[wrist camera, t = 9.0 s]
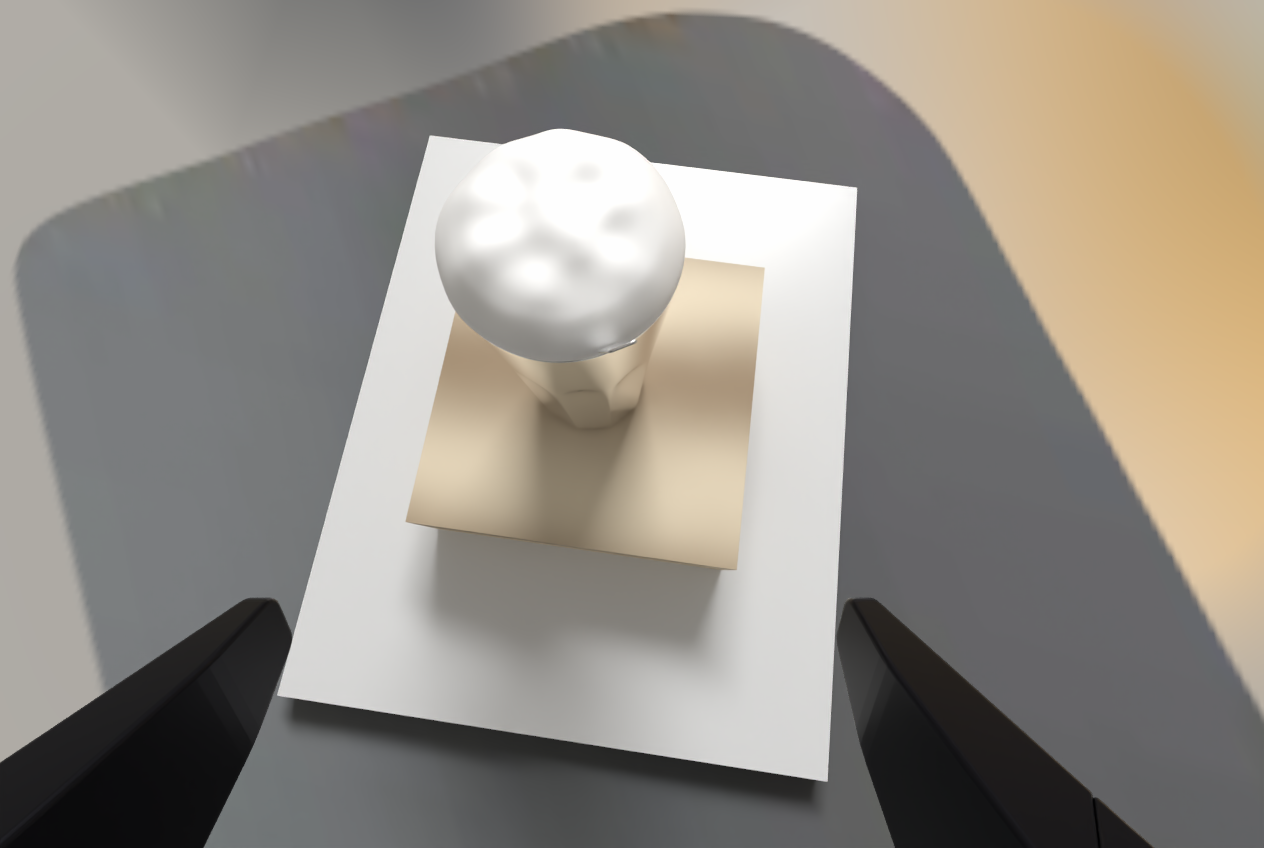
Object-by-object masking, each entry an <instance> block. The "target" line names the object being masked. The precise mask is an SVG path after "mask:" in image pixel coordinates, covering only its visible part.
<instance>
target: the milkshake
mask: <svg viewBox="0 0 1264 848" xmlns="http://www.w3.org/2000/svg"><path fill="white" fill-rule="evenodd" d="M685 248H686V241H685V230H684V225H683V222H682V218H681V215H680V212H679V209H678V207H677V204H676V202H675V199H674V197H673V195H672V193H671V191H670V189H669V187H668V185H667V183H666V182H665V180H664V179H663V177H662V176H661V175H660V173H659V172H658V171H657V169H656V168H655V167H654V166H653V165H652V164H651V163H650V162H649V161H648V160H647V159H646V158H645V157H644V156H642V155H641V154H640V153H639V152H637V151H636V150H635V149H633V148H632V147H630V146H628V145H627V144H625V143H623V142H620V141H617V140H614V139H610V138H606V137H602V136H597V135H592V134H588V133H583V132H579V131H574V130H568V129H553V130H548V131H545V132H542V133H539V134H536V135H532V136H529V137H526V138H522V139H518V140H515V141H511V142H508V143H506V144H504V145H502V146H500V147H498V148H496V149H494V150H493V151H492V152H490V153H489V154H488V155H486V156H485V157H484V158H483V159H482V160H481V161H480V162H479V163H478V164H477V165H476V166H475V167H474V168H473V169H472V170H471V171H470V172H469V173H468V174H467V176H466V177H465V178H464V179H463V180H462V181H461V182H460V183H459V185H458V186H457V187H456V188H455V189H454V190H453V192H452V193H451V194H450V196H449V197H448V199H447V200H446V202H445V203H444V205H443V207H442V210H441V212H440V214H439V217H438V221H437V225H436V231H435V256H436V262H437V267H438V271H439V274H440V278H441V281H442V284H443V287H444V290H445V292H446V295H447V297H448V299H449V301H450V303H451V305H452V306H453V308H454V310H455V311H456V313H457V314H458V315H459V316H460V318H461V319H462V320H463V321H464V322H465V323H466V324H467V325H468V326H469V327H470V328H471V329H473V330H474V331H475V332H476V333H477V334H478V335H479V336H480V337H481V338H482V339H483V340H484V341H485V342H486V343H487V344H488V345H489V346H490V347H491V348H492V349H493V350H494V351H495V352H497V353H498V354H499V355H500V356H501V357H502V358H503V359H504V360H505V361H506V362H507V363H508V364H509V365H510V367H511V368H512V369H513V370H514V371H515V372H516V374H517V375H518V376H519V377H520V378H521V379H522V380H523V382H524V383H525V384H526V385H527V386H528V387H529V388H530V390H531V391H532V392H533V393H534V394H535V395H536V396H537V397H538V399H539V400H540V401H541V402H542V403H543V404H544V405H545V407H546V408H547V409H548V410H549V411H550V412H551V413H552V414H554V415H556V416H557V417H559V418H561V419H562V420H564V421H566V422H567V423H569V424H571V425H572V426H574V427H575V428H577V429H592V428H607V427H612V426H613V425H614V424H616V423H617V422H618V421H619V420H621V419H622V418H623V417H624V416H625V415H627V414H628V413H629V412H630V411H632V410H633V409H634V408H635V407H636V406H637V403H638V399H639V396H640V392H641V388H642V385H643V381H644V377H645V374H646V370H647V367H648V363H649V360H650V357H651V354H652V351H653V349H654V346H655V343H656V341H657V338H658V336H659V333H660V331H661V328H662V326H663V323H664V320H665V318H666V315H667V312H668V310H669V307H670V304H671V302H672V299H673V296H674V294H675V291H676V288H677V286H678V283H679V280H680V277H681V273H682V270H683V265H684V259H685Z"/></svg>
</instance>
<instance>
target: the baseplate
mask: <svg viewBox="0 0 1264 848" xmlns="http://www.w3.org/2000/svg"><path fill="white" fill-rule="evenodd" d="M502 145H503V144H495V143H486V142H478V141H470V140H462V139H454V138H446V137H437V136H430V138H429V141H428V145H427V149H426V152H425V156H424V160H423V163H422V167H421V171H420V174H419V178H418V182H417V185H416V189H415V193H414V196H413V200H412V204H411V207H410V211H409V215H408V218H407V222H406V226H405V229H404V233H403V237H402V240H401V244H400V248H399V251H398V255H397V259H396V262H395V266H394V270H393V273H392V277H391V281H390V284H389V288H388V292H387V295H386V299H385V303H384V306H383V310H382V314H381V317H380V321H379V325H378V328H377V332H376V336H375V339H374V343H373V347H372V350H371V354H370V358H369V361H368V365H367V369H366V372H365V376H364V380H363V383H362V387H361V391H360V394H359V398H358V402H357V405H356V409H355V413H354V416H353V420H352V424H351V427H350V431H349V435H348V438H347V442H346V446H345V449H344V453H343V457H342V460H341V464H340V468H339V471H338V475H337V479H336V482H335V486H334V490H333V493H332V497H331V501H330V504H329V508H328V512H327V515H326V519H325V523H324V526H323V530H322V533H321V537H320V541H319V544H318V548H317V552H316V555H315V559H314V563H313V566H312V570H311V574H310V577H309V581H308V585H307V588H306V592H305V596H304V599H303V603H302V607H301V610H300V614H299V618H298V621H297V625H296V629H295V632H294V636H293V640H292V644H291V648H290V651H289V654H288V658H287V662H286V665H285V669H284V673H283V676H282V680H281V684H280V687H279V691H278V695H277V696H283V697H289V698H296V699H302V700H309V701H315V702H321V703H328V704H334V705H341V706H347V707H353V708H360V709H366V710H373V711H379V712H385V713H392V714H398V715H404V716H411V717H417V718H424V719H430V720H436V721H443V722H449V723H456V724H462V725H468V726H475V727H481V728H488V729H494V730H500V731H507V732H513V733H519V734H526V735H532V736H539V737H545V738H551V739H558V740H564V741H571V742H577V743H583V744H590V745H596V746H603V747H609V748H615V749H622V750H628V751H634V752H641V753H647V754H654V755H660V756H666V757H673V758H679V759H686V760H692V761H698V762H705V763H711V764H718V765H724V766H730V767H737V768H743V769H749V770H756V771H762V772H769V773H775V774H781V775H788V776H794V777H801V778H807V779H813V780H820V781H826V782H827V780H828V760H829V740H830V720H831V700H832V680H833V660H834V640H835V620H836V600H837V580H838V560H839V540H840V520H841V499H842V479H843V459H844V439H845V419H846V399H847V379H848V359H849V339H850V319H851V299H852V279H853V259H854V239H855V219H856V199H857V188H854V187H846V186H838V185H829V184H821V183H813V182H805V181H797V180H789V179H780V178H772V177H764V176H756V175H748V174H740V173H731V172H723V171H715V170H707V169H699V168H691V167H682V166H674V165H666V164H658V163H651V164H652V165H653V166H654V167H655V168H656V169H657V171H658V172H659V173H660V175H661V176H662V177H663V179H664V180H665V182H666V183H667V185H668V187H669V189H670V191H671V193H672V195H673V197H674V199H675V202H676V204H677V207H678V209H679V212H680V215H681V218H682V222H683V225H684V230H685V241H686V248H685V258H693V259H701V260H708V261H716V262H724V263H732V264H740V265H748V266H755V267H763V268H765V271H764V282H763V293H762V304H761V314H760V325H759V336H758V347H757V358H756V368H755V379H754V390H753V401H752V412H751V422H750V433H749V444H748V455H747V465H746V476H745V487H744V498H743V509H742V519H741V530H740V541H739V552H738V563H737V570H716V569H709V568H702V567H696V566H689V565H682V564H675V563H668V562H661V561H654V560H647V559H641V558H634V557H627V556H620V555H613V554H606V553H599V552H592V551H586V550H579V549H572V548H565V547H558V546H551V545H544V544H537V543H530V542H524V541H517V540H510V539H503V538H496V537H489V536H482V535H475V534H469V533H462V532H455V531H448V530H441V529H435V528H431V527H426V526H422V525H417V524H413V523H408V522H405V521H406V517H407V512H408V508H409V504H410V500H411V496H412V491H413V487H414V483H415V479H416V475H417V470H418V466H419V462H420V458H421V454H422V449H423V445H424V441H425V437H426V433H427V428H428V424H429V420H430V416H431V412H432V407H433V403H434V399H435V395H436V391H437V386H438V382H439V378H440V374H441V370H442V365H443V361H444V357H445V353H446V349H447V344H448V340H449V336H450V332H451V328H452V323H453V319H454V315H455V310H454V308H453V306H452V305H451V303H450V301H449V299H448V297H447V295H446V292H445V290H444V287H443V284H442V281H441V278H440V274H439V271H438V267H437V262H436V256H435V231H436V225H437V221H438V217H439V214H440V212H441V210H442V207H443V205H444V203H445V202H446V200H447V199H448V197H449V196H450V194H451V193H452V192H453V190H454V189H455V188H456V187H457V186H458V185H459V183H460V182H461V181H462V180H463V179H464V178H465V177H466V176H467V174H468V173H469V172H470V171H471V170H472V169H473V168H474V167H475V166H476V165H477V164H478V163H479V162H480V161H481V160H482V159H483V158H484V157H485V156H486V155H488V154H489V153H490V152H492V151H493V150H494V149H496V148H498V147H500V146H502Z"/></svg>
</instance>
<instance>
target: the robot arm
mask: <svg viewBox="0 0 1264 848" xmlns="http://www.w3.org/2000/svg"><path fill="white" fill-rule="evenodd" d="M291 644H292V633H291V630H290V627H289V625H288V623H287V620H286V618H285V616H284V614H283V611H282V609H281V607H280V604H279V603H278V601H277V600H275V599H274V598H248V599H245V600H243V601H241V602H239V603H238V604H236V605H235V606H233V607H232V608H230V609H229V610H227V611H226V612H224V613H223V614H222V615H220V616H219V617H217V618H216V619H214V620H213V621H211V622H210V623H208V624H207V625H205V626H204V627H202V628H201V629H199V630H198V631H196V632H195V633H193V634H192V635H190V636H189V637H187V638H186V639H184V640H183V641H181V642H180V643H178V644H177V645H175V646H174V647H172V648H171V649H169V650H168V651H166V652H165V653H163V654H162V655H160V656H159V657H157V658H156V659H154V660H153V661H151V662H150V663H148V664H147V665H145V666H144V667H142V668H141V669H139V670H138V671H136V672H135V673H133V674H132V675H130V676H129V677H127V678H126V679H124V680H123V681H121V682H120V683H118V684H117V685H115V686H114V687H112V688H111V689H109V690H108V691H106V692H105V693H103V694H102V695H100V696H99V697H97V698H96V699H94V700H93V701H91V702H90V703H89V704H87V705H86V706H84V707H83V708H81V709H80V710H78V711H77V712H75V713H74V714H72V715H71V716H69V717H68V718H66V719H65V720H63V721H62V722H60V723H59V724H57V725H56V726H54V727H53V728H51V729H50V730H48V731H47V732H45V733H44V734H42V735H41V736H39V737H38V738H36V739H35V740H33V741H32V742H30V743H29V744H27V745H26V746H24V747H23V748H21V749H20V750H18V751H17V752H15V753H14V754H12V755H11V756H10V757H8V758H6V759H5V760H3V761H2V762H0V848H204V846H205V844H206V841H207V839H208V837H209V835H210V833H211V831H212V829H213V827H214V825H215V823H216V821H217V819H218V817H219V815H220V813H221V811H222V809H223V807H224V805H225V803H226V801H227V799H228V797H229V795H230V793H231V791H232V789H233V787H234V785H235V782H236V780H237V778H238V776H239V774H240V772H241V770H242V768H243V766H244V764H245V762H246V760H247V758H248V756H249V754H250V751H251V749H252V747H253V745H254V743H255V740H256V738H257V735H258V733H259V730H260V728H261V725H262V723H263V720H264V717H265V715H266V712H267V709H268V707H269V704H270V701H271V699H272V696H273V694H274V691H275V688H276V686H277V683H278V680H279V678H280V675H281V672H282V670H283V667H284V664H285V662H286V659H287V656H288V654H289V651H290V648H291ZM837 648H838V652H839V657H840V661H841V665H842V670H843V674H844V678H845V683H846V687H847V691H848V696H849V700H850V704H851V709H852V713H853V718H854V722H855V726H856V730H857V734H858V738H859V742H860V746H861V749H862V752H863V755H864V759H865V762H866V765H867V768H868V770H869V773H870V776H871V779H872V782H873V785H874V788H875V791H876V794H877V797H878V800H879V803H880V805H881V808H882V811H883V814H884V817H885V820H886V823H887V826H888V829H889V832H890V835H891V838H892V840H893V843H894V846H895V848H1154V847H1153V846H1152V845H1151V844H1150V843H1149V842H1147V841H1146V840H1145V839H1144V838H1143V837H1142V836H1141V835H1139V834H1138V833H1137V832H1136V831H1135V830H1134V829H1132V828H1131V827H1130V826H1129V825H1128V824H1127V823H1126V822H1125V821H1123V820H1122V819H1121V818H1120V817H1119V816H1118V815H1117V814H1116V813H1114V812H1113V811H1112V810H1111V809H1110V808H1109V807H1108V806H1107V805H1106V804H1104V803H1103V802H1102V801H1101V800H1100V799H1099V798H1093V796H1092V793H1091V791H1090V790H1088V789H1087V788H1086V787H1085V786H1084V785H1083V784H1082V783H1081V782H1080V781H1078V780H1077V779H1076V778H1075V777H1074V776H1073V775H1072V774H1071V773H1069V772H1068V771H1067V770H1066V769H1065V768H1064V767H1063V766H1062V765H1061V764H1059V763H1058V762H1057V761H1056V760H1055V759H1054V758H1053V757H1052V756H1050V755H1049V754H1048V753H1047V752H1046V751H1045V750H1044V749H1043V748H1042V747H1040V746H1039V745H1038V744H1037V743H1036V742H1035V741H1034V740H1033V739H1031V738H1030V737H1029V736H1028V735H1027V734H1026V733H1025V732H1024V731H1023V730H1021V729H1020V728H1019V727H1018V726H1017V725H1016V724H1015V723H1014V722H1012V721H1011V720H1010V719H1009V718H1008V717H1007V716H1006V715H1005V714H1004V713H1002V712H1001V711H1000V710H999V709H998V708H997V707H996V706H995V705H993V704H992V703H991V702H990V701H989V700H988V699H987V698H986V697H985V696H983V695H982V694H981V693H980V692H979V691H978V690H977V689H976V688H974V687H973V686H972V685H971V684H970V683H969V682H968V681H967V680H966V679H964V678H963V677H962V676H961V675H960V674H959V673H958V672H957V671H955V670H954V669H953V668H952V667H951V666H950V665H949V664H948V663H947V662H945V661H944V660H943V659H942V658H941V657H940V656H939V655H938V654H936V653H935V652H934V651H933V650H932V649H931V648H930V647H929V646H928V645H926V644H925V643H924V642H923V641H922V640H921V639H920V638H919V637H917V636H916V635H915V634H914V633H913V632H912V631H911V630H910V629H909V628H907V627H906V626H905V625H904V624H903V623H902V622H901V621H900V620H898V619H897V618H896V617H895V616H894V615H893V614H892V613H891V612H890V611H888V610H887V609H886V608H885V607H884V606H883V605H882V604H881V603H879V602H878V601H877V600H875V599H873V598H849V599H847V601H846V602H845V604H844V608H843V612H842V615H841V619H840V623H839V627H838V631H837Z"/></svg>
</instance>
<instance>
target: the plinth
mask: <svg viewBox="0 0 1264 848" xmlns="http://www.w3.org/2000/svg"><path fill="white" fill-rule="evenodd" d="M764 271H765V268H763V267H755V266H748V265H740V264H732V263H724V262H716V261H708V260H701V259H693V258H685V259H684V265H683V270H682V273H681V277H680V280H679V283H678V286H677V288H676V291H675V294H674V296H673V299H672V302H671V304H670V307H669V310H668V312H667V315H666V318H665V320H664V323H663V326H662V328H661V331H660V333H659V336H658V338H657V341H656V343H655V346H654V349H653V351H652V354H651V357H650V360H649V363H648V367H647V370H646V374H645V377H644V381H643V385H642V388H641V392H640V396H639V399H638V403H637V406H636V407H635V408H634V409H633V410H632V411H630V412H629V413H628V414H627V415H625V416H624V417H623V418H622V419H621V420H619V421H618V422H617V423H616V424H614V425H613V426H612V427H607V428H592V429H577V428H575V427H574V426H572V425H571V424H569V423H567V422H566V421H564V420H562V419H561V418H559V417H557V416H556V415H554V414H552V413H551V412H550V411H549V410H548V409H547V408H546V407H545V405H544V404H543V403H542V402H541V401H540V400H539V399H538V397H537V396H536V395H535V394H534V393H533V392H532V391H531V390H530V388H529V387H528V386H527V385H526V384H525V383H524V382H523V380H522V379H521V378H520V377H519V376H518V375H517V374H516V372H515V371H514V370H513V369H512V368H511V367H510V365H509V364H508V363H507V362H506V361H505V360H504V359H503V358H502V357H501V356H500V355H499V354H498V353H497V352H495V351H494V350H493V349H492V348H491V347H490V346H489V345H488V344H487V343H486V342H485V341H484V340H483V339H482V338H481V337H480V336H479V335H478V334H477V333H476V332H475V331H474V330H473V329H471V328H470V327H469V326H468V325H467V324H466V323H465V322H464V321H463V320H462V319H461V318H460V316H459V315H458V314H457V313H456V311H455V315H454V319H453V323H452V328H451V332H450V336H449V340H448V344H447V349H446V353H445V357H444V361H443V365H442V370H441V374H440V378H439V382H438V386H437V391H436V395H435V399H434V403H433V407H432V412H431V416H430V420H429V424H428V428H427V433H426V437H425V441H424V445H423V449H422V454H421V458H420V462H419V466H418V470H417V475H416V479H415V483H414V487H413V491H412V496H411V500H410V504H409V508H408V512H407V517H406V521H405V522H408V523H413V524H417V525H422V526H426V527H431V528H435V529H441V530H448V531H455V532H462V533H469V534H475V535H482V536H489V537H496V538H503V539H510V540H517V541H524V542H530V543H537V544H544V545H551V546H558V547H565V548H572V549H579V550H586V551H592V552H599V553H606V554H613V555H620V556H627V557H634V558H641V559H647V560H654V561H661V562H668V563H675V564H682V565H689V566H696V567H702V568H709V569H716V570H737V563H738V552H739V541H740V530H741V519H742V509H743V498H744V487H745V476H746V465H747V455H748V444H749V433H750V422H751V412H752V401H753V390H754V379H755V368H756V358H757V347H758V336H759V325H760V314H761V304H762V293H763V282H764Z"/></svg>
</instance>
